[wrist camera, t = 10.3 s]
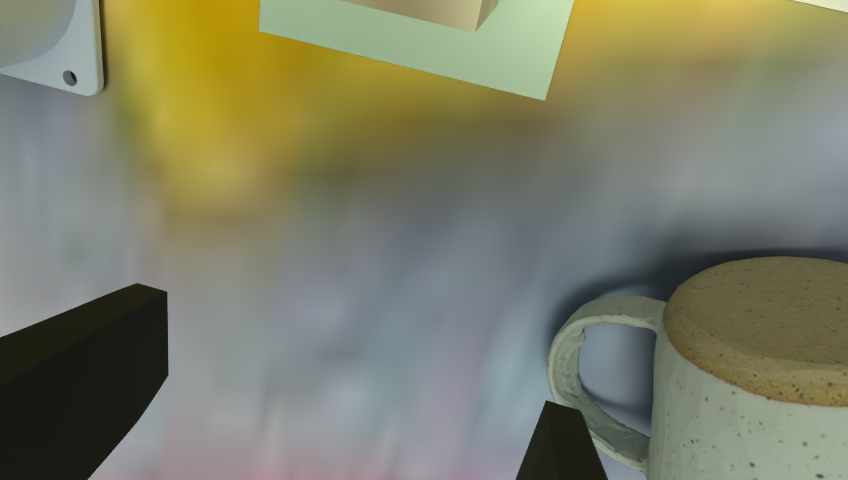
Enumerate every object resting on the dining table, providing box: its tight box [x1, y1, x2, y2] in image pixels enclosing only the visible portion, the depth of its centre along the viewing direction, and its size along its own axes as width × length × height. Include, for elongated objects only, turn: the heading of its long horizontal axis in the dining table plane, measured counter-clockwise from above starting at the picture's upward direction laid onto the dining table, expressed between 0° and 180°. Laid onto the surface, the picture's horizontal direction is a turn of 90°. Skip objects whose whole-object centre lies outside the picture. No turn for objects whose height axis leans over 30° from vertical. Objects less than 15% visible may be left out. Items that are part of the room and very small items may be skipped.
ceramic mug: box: [548, 256, 848, 480], centre depth 18 cm, size 11×8×8 cm
